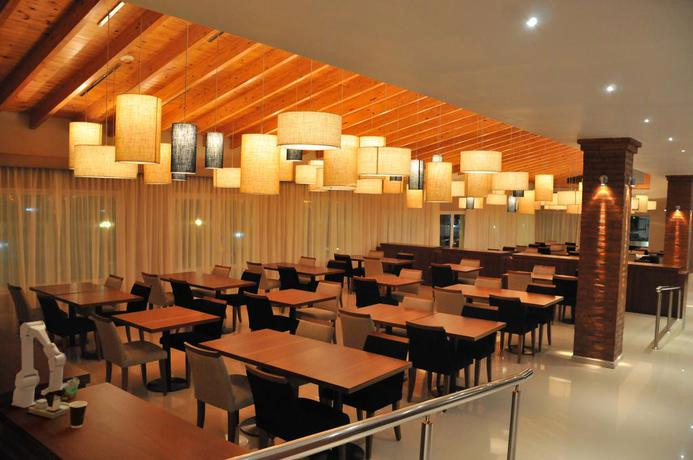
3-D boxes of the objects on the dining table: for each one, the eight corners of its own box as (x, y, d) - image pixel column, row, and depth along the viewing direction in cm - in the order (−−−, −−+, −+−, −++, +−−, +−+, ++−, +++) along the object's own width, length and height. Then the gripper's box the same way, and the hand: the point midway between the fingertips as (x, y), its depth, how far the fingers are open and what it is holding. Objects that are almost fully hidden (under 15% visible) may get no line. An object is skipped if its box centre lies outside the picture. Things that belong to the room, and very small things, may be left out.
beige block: (34, 412, 265) (35, 400, 265) (41, 410, 269) (42, 398, 268) (40, 414, 263) (41, 402, 263) (47, 411, 267) (48, 400, 267)
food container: (70, 402, 282) (72, 384, 282) (59, 401, 282) (60, 383, 282) (82, 395, 294) (84, 377, 294) (71, 394, 294) (73, 376, 294)
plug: (52, 410, 261) (53, 399, 261) (46, 409, 262) (47, 397, 262) (59, 408, 265) (60, 396, 265) (53, 406, 266) (54, 395, 266)
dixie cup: (86, 428, 252) (88, 405, 252) (68, 430, 248) (70, 407, 248) (84, 421, 259) (86, 400, 259) (66, 424, 254) (68, 401, 254)
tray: (41, 408, 270) (42, 406, 270) (57, 403, 279) (57, 400, 279) (58, 413, 266) (59, 410, 266) (74, 407, 275) (74, 404, 275)
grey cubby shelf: (28, 413, 263) (28, 407, 263) (42, 408, 271) (42, 402, 271) (52, 419, 258) (52, 413, 258) (65, 414, 266) (66, 408, 266)
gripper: (49, 383, 255) (47, 411, 255) (73, 376, 269) (71, 402, 269) (38, 381, 257) (36, 408, 257) (63, 373, 271) (61, 399, 271)
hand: (53, 405), depth 263 cm, fingers closed on plug, 4 cm apart
